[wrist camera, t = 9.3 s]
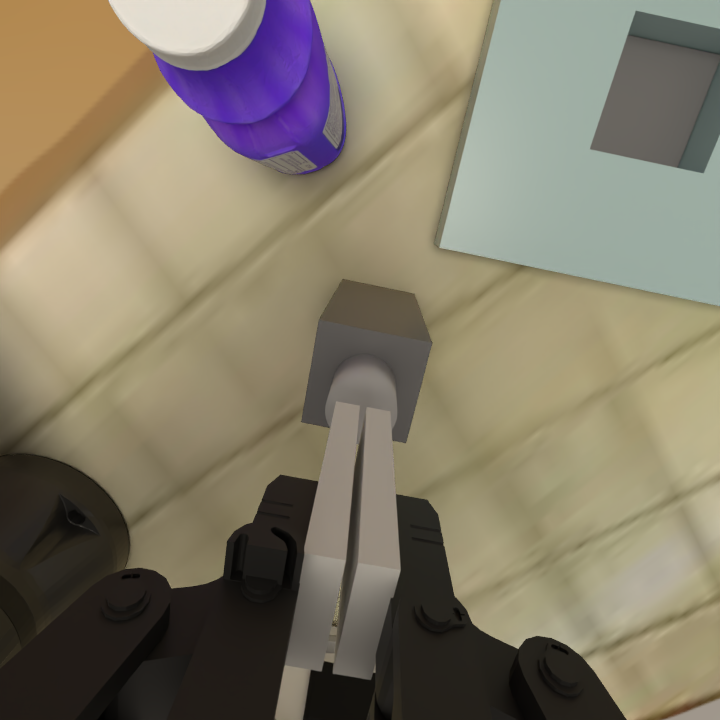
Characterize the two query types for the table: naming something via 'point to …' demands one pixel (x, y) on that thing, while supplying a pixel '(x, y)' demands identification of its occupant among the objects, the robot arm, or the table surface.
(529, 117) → the socket plate
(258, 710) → the robot arm
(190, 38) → the bottle
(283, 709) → the alarm clock
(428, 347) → the plug
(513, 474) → the table surface
